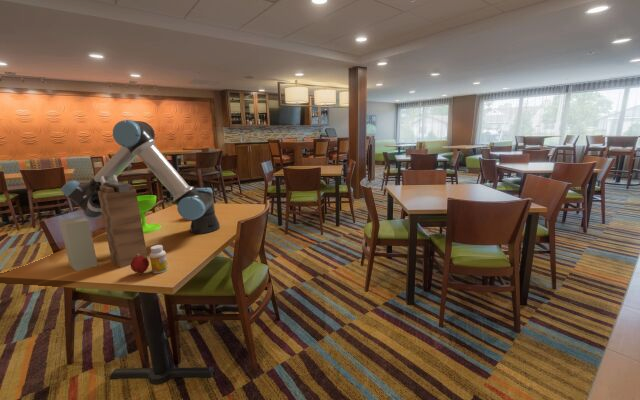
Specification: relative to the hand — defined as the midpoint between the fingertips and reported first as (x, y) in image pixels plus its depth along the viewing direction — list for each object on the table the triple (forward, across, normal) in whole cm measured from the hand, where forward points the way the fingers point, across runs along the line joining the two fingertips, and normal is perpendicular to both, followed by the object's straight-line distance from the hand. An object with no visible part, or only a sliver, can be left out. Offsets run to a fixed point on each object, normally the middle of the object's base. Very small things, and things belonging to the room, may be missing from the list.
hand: (109, 178), depth 119 cm
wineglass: (-47, -22, -12) cm, 54 cm away
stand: (-12, 0, -32) cm, 35 cm away
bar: (+1, 0, -5) cm, 5 cm away
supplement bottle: (+6, -3, -43) cm, 44 cm away
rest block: (-22, +13, -27) cm, 37 cm away
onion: (+3, +2, -42) cm, 42 cm away
